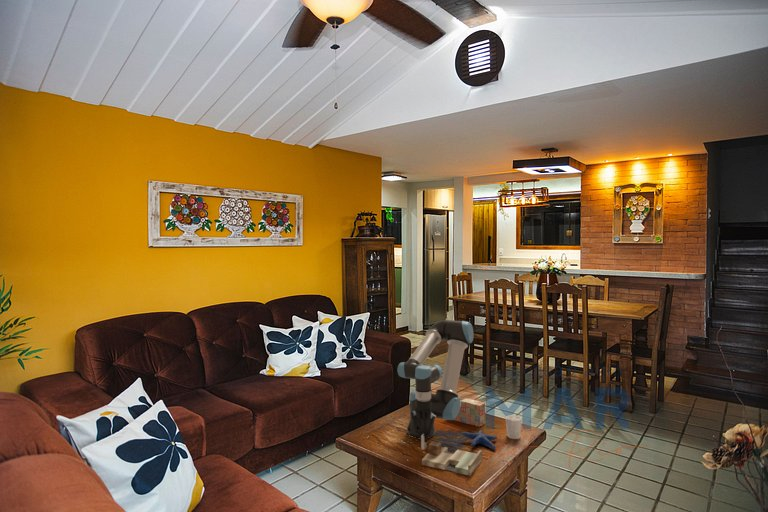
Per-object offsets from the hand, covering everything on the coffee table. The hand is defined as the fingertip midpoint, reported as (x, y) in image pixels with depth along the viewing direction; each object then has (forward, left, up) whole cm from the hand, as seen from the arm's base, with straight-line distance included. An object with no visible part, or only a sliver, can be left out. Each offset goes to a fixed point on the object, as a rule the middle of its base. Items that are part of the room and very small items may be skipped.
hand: (423, 448), depth 219 cm
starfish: (+21, +26, -4) cm, 33 cm away
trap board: (+14, 0, -4) cm, 14 cm away
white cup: (+33, +42, -4) cm, 54 cm away
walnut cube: (+6, 0, -1) cm, 6 cm away
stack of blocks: (+4, +52, -4) cm, 52 cm away
